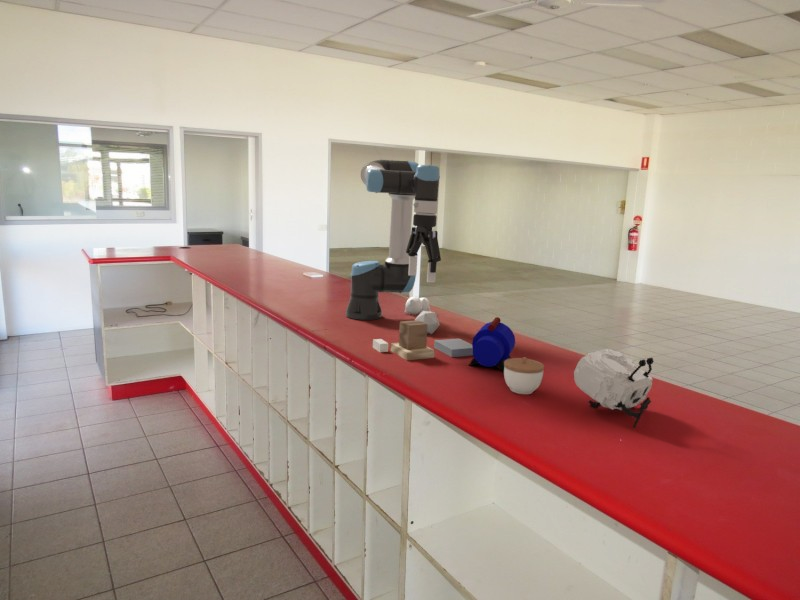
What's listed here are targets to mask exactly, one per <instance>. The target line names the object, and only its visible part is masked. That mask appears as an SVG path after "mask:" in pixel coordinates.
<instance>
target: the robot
mask: <svg viewBox="0 0 800 600" xmlns="http://www.w3.org/2000/svg"><path fill="white" fill-rule="evenodd" d="M654 362H655V361H654V358H653V357H648V358H646V359H641V360H639V361H638V365H637V364H636V363H634V360H633V359H631V358H627V357H626V356H624V354H623V353H622V352H621V351H618V350H614V349H611V348H609V349H608V348H604V349H601V350H597V351H593V352H592V351H591V352H589V353H587V354H586V355H585V356H582V357H581V358H580V359H579V361H578V362H577V364H576V366H575V369H574V371H573V375H574V376H573V377H574V379H573V381H574V382H575V385H576V387H578V388H579V390H581V391H582V392H583V393H584V394H586V395H587V396H589V397H590V398H591V399H593V400H594V401H592V400H589V401H588V404H590V407H591V408H593V409H598V408H599V407H601V406H602V407H603V408H607V409H610V410H616V409H617V410H619V411H622V412H624V413H625V414H626V415H628V416H629V417H633V418H635V421H634V423H633V424H632V427H633V428H634V429H635V428H636V427H637V424H638V422H639V421H640V418H641V416H642V414H643V412H644V410H647V409H648V408H649V405H650V404H651V403H652V400H651V399H650V397H649V396H648V393H649V392H650V391H651V388H652V386H653V381H654V380H653V377H652V376H650V373H651V371H652V365H653V363H654ZM646 365H647V366H648V370H647V371H644V370H643V369H641V368H642V367H645V366H646ZM647 396H648V397H647ZM639 404H640V407H639V408H638V411H639V412H636V411H632V410H631V408H634V407H636V406H638V405H639Z"/></svg>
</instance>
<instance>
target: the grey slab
mask: <svg viewBox="0 0 800 600" xmlns="http://www.w3.org/2000/svg"><path fill="white" fill-rule="evenodd" d="M433 348H434V349H435V350H438V351H439V352H441V353H443V354H445V355H446V356H449V357H451V358H455V357H457V358H458V357H468V356H473V347H472V343H470V342H468V341H466V340H464V339H462V338H450V339H449V338H448V339H434V342H433Z"/></svg>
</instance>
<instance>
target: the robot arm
mask: <svg viewBox="0 0 800 600" xmlns="http://www.w3.org/2000/svg"><path fill="white" fill-rule="evenodd" d="M440 178H441V177H440V167H439V166H437V165H431V164H430V165H429V164H419V163H418V162H416V161H409V160H393V159H391V160H390V159H376V160H372V161H369V162H367V163H366V164H364V165H363V167H362V168H361V171H360V179H361V181H362V183H363V184H364V185H365V188H366V191H367V192H369V193H374V194H375V193H376V194H378V193H380V194H388V195H389V197H390V198H391V207H390V208H391V211H390V228H389V230H390V231H389V245H388V246H389V247H388V256H387V257H386V259H385V260H384V264H381V262H380V261H379V260H365V261H363V260H362V261H359V262H355V263H353V264H352V265H351V271H350V276H351V280H350V281H351V282H350V298H349V301H348V303H347V307H346V310H345V316H346V317H347V318H350V319H352V320H361V321H369V320H371V321H373V320H378V319H381V318H382V316H383V315H382V313H383V312H382V311H383V310H382V308H381V304H380V302H379V301H380V300H379V293H399V294H402V293H403V294H405V293H406V294H407V293H410V292H412V290H413V288H414V285H415V282H416V277H417V269H418V268H417V266H418V256H419V255H418V253H419V250H420V248H421V247H422V244H423V245H424V247H425V251H426V254H427V257H428V258H427V259H428V261H427V271H426V284H427V283H436V276H437V275H436V274H437V263H438V262H441V260H442V257H441V252H440V245H439V239H438V231H437V230H433V228H435V227H436V226H437V220H438V219H437V218H438V217H437V215H436V214H438V203H439V202H438V200H439V199H438V198H439V187H440V186H439V184H440ZM413 201H414V202H413ZM413 213H415V214H413ZM412 219H413V220H412ZM412 225H413V226H412Z"/></svg>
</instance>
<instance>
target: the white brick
mask: <svg viewBox="0 0 800 600" xmlns="http://www.w3.org/2000/svg"><path fill="white" fill-rule="evenodd" d="M372 349H374V350H376V351H377V352H378V353H384V352H385V353H386V352H387V353H388V352H389V343H388V341H386V340H384V339H382V338H376V339H375V338H373V339H372Z"/></svg>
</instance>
